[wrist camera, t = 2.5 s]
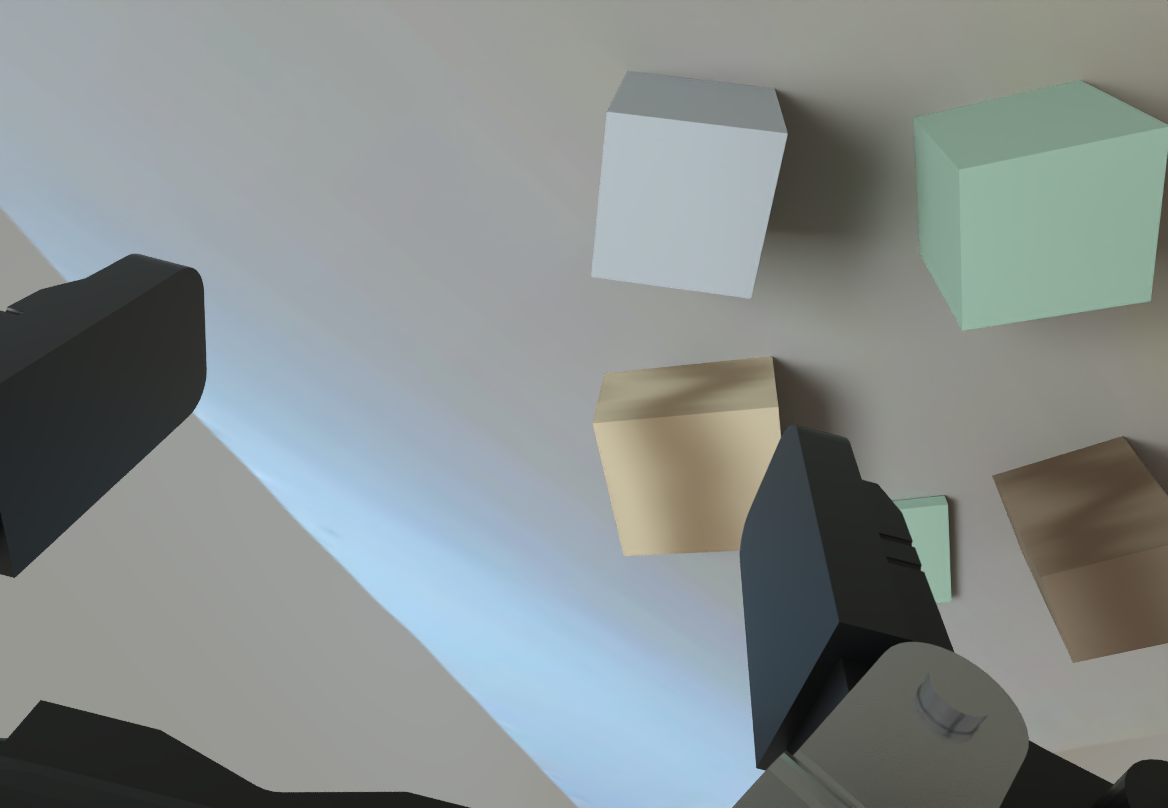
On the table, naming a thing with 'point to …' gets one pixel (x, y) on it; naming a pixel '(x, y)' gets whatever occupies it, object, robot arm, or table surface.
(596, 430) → the maple base
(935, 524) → the tile
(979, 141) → the green block
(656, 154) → the grey block
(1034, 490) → the walnut block
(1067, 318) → the table surface
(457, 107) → the table surface
